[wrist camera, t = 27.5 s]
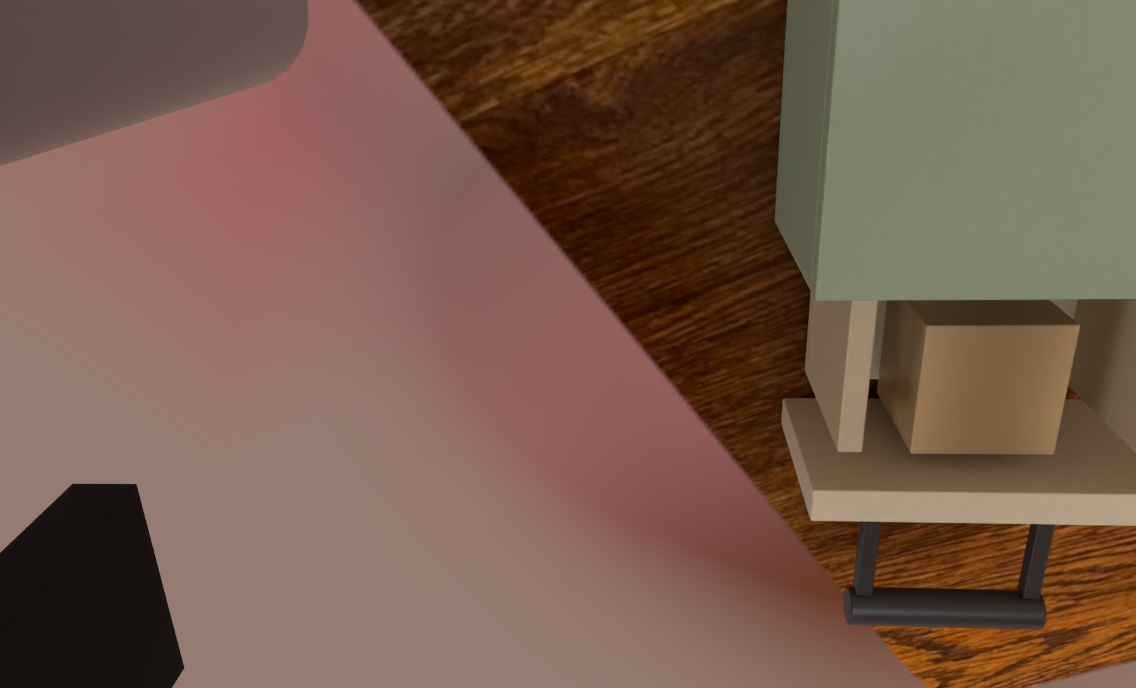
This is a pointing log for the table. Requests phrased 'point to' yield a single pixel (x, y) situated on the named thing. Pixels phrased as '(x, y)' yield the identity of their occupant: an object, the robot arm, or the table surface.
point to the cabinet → (960, 149)
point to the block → (976, 374)
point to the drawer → (961, 463)
